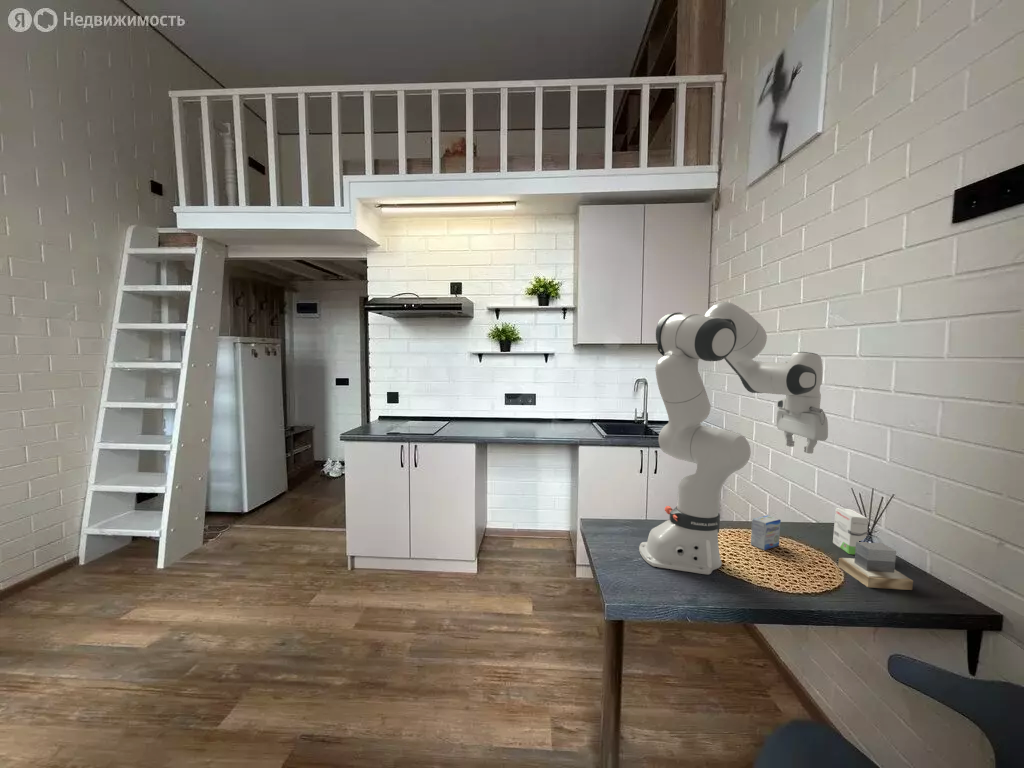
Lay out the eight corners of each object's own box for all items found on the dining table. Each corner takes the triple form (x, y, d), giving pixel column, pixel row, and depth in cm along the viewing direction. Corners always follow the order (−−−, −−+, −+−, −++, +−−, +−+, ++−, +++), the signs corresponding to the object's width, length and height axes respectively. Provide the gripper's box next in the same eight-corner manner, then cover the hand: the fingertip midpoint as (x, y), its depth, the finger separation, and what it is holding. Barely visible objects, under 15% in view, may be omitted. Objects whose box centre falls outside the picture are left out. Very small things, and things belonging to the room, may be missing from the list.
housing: (894, 572, 113) (896, 550, 112) (866, 570, 113) (868, 549, 113) (880, 564, 117) (882, 543, 117) (854, 562, 118) (856, 541, 117)
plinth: (867, 587, 110) (868, 576, 110) (838, 566, 121) (838, 556, 121) (912, 590, 110) (913, 579, 109) (878, 568, 121) (879, 559, 120)
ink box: (866, 556, 128) (869, 518, 128) (848, 554, 129) (851, 516, 128) (848, 543, 137) (851, 508, 136) (831, 542, 138) (834, 507, 137)
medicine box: (763, 550, 130) (766, 523, 129) (750, 544, 134) (752, 518, 133) (779, 546, 134) (781, 519, 133) (765, 540, 137) (767, 514, 137)
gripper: (836, 409, 119) (832, 458, 120) (793, 401, 140) (790, 443, 141) (813, 409, 120) (809, 457, 121) (773, 401, 140) (770, 442, 141)
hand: (798, 449), depth 131 cm, fingers open, 8 cm apart
